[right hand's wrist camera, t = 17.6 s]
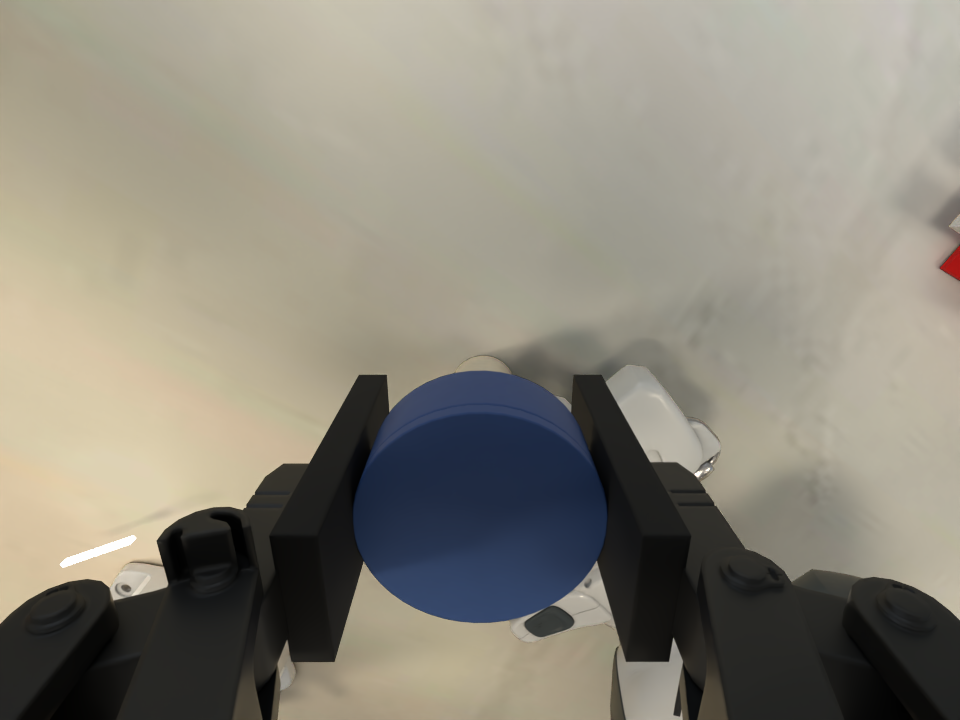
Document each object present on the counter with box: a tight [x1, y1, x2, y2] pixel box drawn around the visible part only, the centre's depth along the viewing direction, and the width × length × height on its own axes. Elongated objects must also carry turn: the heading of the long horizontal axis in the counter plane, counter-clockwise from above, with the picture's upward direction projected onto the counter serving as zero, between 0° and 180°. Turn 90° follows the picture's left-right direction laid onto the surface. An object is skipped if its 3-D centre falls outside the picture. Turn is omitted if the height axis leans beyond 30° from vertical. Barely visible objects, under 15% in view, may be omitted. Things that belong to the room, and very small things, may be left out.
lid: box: [353, 371, 608, 623], centre depth 11 cm, size 5×5×2 cm
